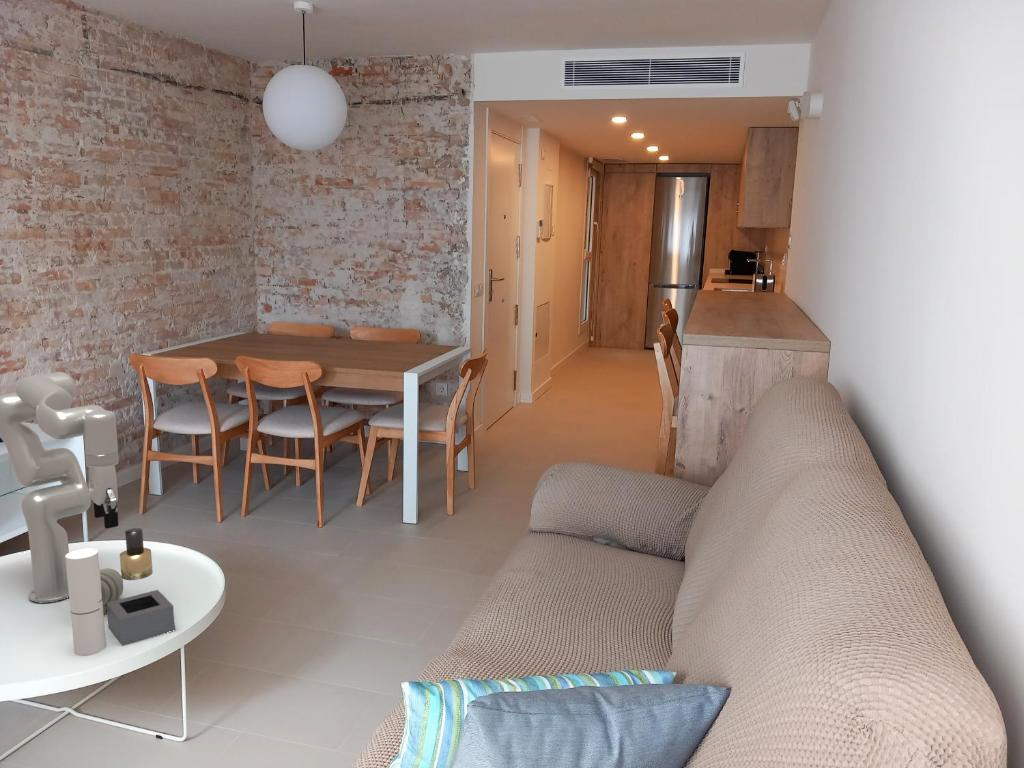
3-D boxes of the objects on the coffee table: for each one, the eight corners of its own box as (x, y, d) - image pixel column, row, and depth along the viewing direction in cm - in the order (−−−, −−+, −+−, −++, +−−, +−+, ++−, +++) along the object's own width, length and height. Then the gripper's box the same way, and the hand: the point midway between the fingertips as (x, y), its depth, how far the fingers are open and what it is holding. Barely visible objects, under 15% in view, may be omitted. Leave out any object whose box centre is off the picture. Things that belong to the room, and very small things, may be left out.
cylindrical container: (111, 641, 210) (103, 548, 205) (98, 655, 202) (89, 558, 198) (82, 642, 209) (74, 548, 205) (68, 655, 202) (59, 559, 198)
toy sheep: (70, 622, 220) (67, 583, 219) (97, 595, 237) (94, 559, 235) (111, 620, 221) (108, 581, 219) (135, 594, 238) (132, 558, 236)
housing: (108, 627, 217) (106, 602, 216) (159, 613, 225) (157, 589, 224) (122, 645, 207) (119, 619, 206) (174, 630, 215) (173, 605, 214)
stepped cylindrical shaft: (118, 573, 214) (114, 530, 212) (147, 566, 219) (144, 523, 217) (126, 582, 209) (122, 537, 207) (156, 575, 213) (153, 531, 211)
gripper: (77, 453, 216) (82, 515, 219) (95, 468, 203) (99, 534, 206) (108, 449, 220) (112, 510, 224) (127, 464, 207) (131, 528, 211)
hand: (106, 521), depth 215 cm, fingers open, 9 cm apart
